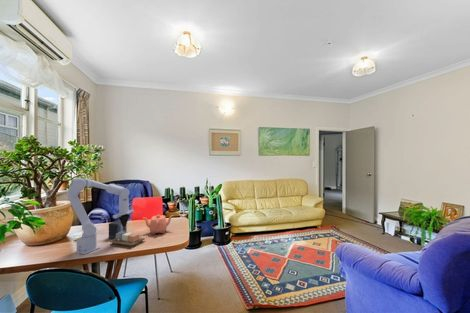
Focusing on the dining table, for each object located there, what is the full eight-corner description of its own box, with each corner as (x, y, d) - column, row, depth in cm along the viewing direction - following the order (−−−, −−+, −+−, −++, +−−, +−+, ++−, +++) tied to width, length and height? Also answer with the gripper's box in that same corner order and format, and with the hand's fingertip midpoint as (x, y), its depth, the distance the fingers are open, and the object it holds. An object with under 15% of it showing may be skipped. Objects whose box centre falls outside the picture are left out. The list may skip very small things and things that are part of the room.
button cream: (127, 241, 133) (127, 235, 133) (122, 240, 134) (121, 234, 134) (132, 238, 137) (132, 233, 137) (127, 237, 138) (127, 232, 138)
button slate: (120, 239, 135) (120, 234, 135) (115, 239, 136) (115, 233, 136) (126, 237, 139) (126, 232, 139) (121, 236, 140) (121, 231, 140)
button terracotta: (133, 242, 131) (133, 236, 131) (128, 241, 132) (128, 235, 132) (139, 239, 135) (139, 234, 135) (134, 238, 136) (134, 233, 136)
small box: (116, 239, 142) (116, 224, 142) (108, 238, 144) (107, 223, 144) (127, 233, 153) (127, 219, 153) (119, 233, 154) (119, 219, 154)
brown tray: (130, 248, 127) (130, 244, 127) (109, 244, 134) (109, 241, 134) (144, 241, 137) (144, 238, 137) (124, 238, 144) (124, 234, 144)
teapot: (142, 233, 152) (142, 216, 152) (161, 227, 166) (161, 211, 166) (155, 237, 144) (155, 219, 144) (174, 230, 158) (174, 213, 158)
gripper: (118, 208, 131) (119, 230, 131) (137, 203, 145) (137, 223, 145) (110, 207, 134) (111, 229, 134) (129, 203, 147) (129, 222, 147)
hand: (124, 226), depth 139 cm, fingers closed
